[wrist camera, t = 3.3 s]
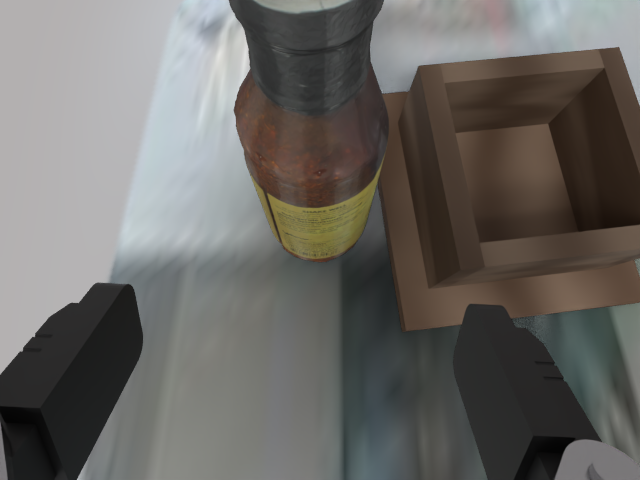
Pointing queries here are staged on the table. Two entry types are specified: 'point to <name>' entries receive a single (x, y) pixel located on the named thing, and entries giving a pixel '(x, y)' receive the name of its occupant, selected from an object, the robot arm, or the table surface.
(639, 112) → the bottle stand
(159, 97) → the table surface
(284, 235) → the sauce bottle
